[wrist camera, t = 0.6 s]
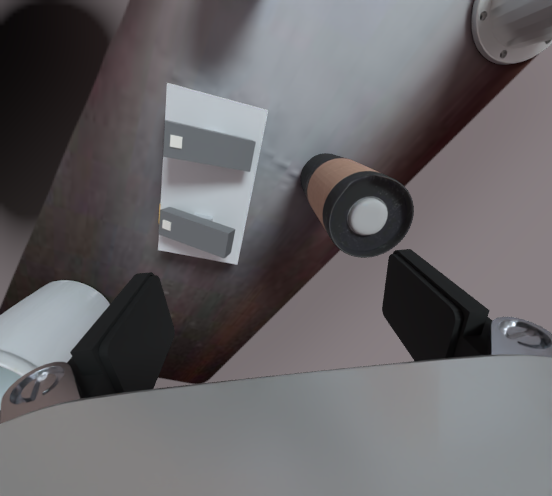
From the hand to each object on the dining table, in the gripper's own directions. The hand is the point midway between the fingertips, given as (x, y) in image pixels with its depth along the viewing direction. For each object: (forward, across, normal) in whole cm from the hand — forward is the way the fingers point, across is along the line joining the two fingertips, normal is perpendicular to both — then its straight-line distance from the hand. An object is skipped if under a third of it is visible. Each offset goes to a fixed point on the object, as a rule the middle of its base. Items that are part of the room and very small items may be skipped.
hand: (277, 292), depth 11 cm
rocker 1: (+25, +6, -5) cm, 26 cm away
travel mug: (+32, -9, +1) cm, 33 cm away
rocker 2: (+25, +9, +6) cm, 27 cm away
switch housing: (+32, +8, 0) cm, 33 cm away
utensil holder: (+34, +37, +23) cm, 55 cm away
